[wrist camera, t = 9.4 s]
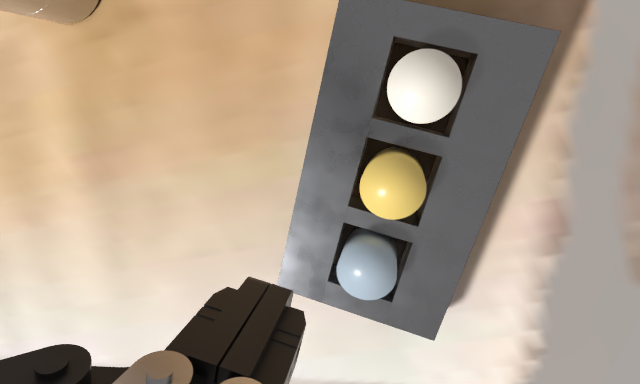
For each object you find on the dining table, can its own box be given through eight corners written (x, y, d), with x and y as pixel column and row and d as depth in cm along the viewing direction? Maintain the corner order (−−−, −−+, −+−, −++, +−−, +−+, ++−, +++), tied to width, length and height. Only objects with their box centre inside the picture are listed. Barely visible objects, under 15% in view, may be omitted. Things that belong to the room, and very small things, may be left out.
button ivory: (381, 111, 27) (378, 114, 23) (399, 49, 26) (398, 41, 22) (440, 126, 26) (447, 131, 22) (461, 63, 25) (472, 57, 21)
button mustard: (359, 193, 29) (352, 209, 25) (373, 141, 28) (369, 148, 24) (412, 209, 29) (414, 227, 25) (430, 156, 27) (435, 166, 23)
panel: (287, 271, 33) (276, 287, 31) (348, -1, 26) (341, -12, 23) (431, 318, 31) (434, 340, 29) (541, 38, 24) (560, 31, 21)
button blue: (339, 264, 31) (330, 289, 27) (351, 219, 30) (344, 238, 26) (388, 280, 31) (386, 307, 27) (404, 234, 29) (404, 256, 25)
